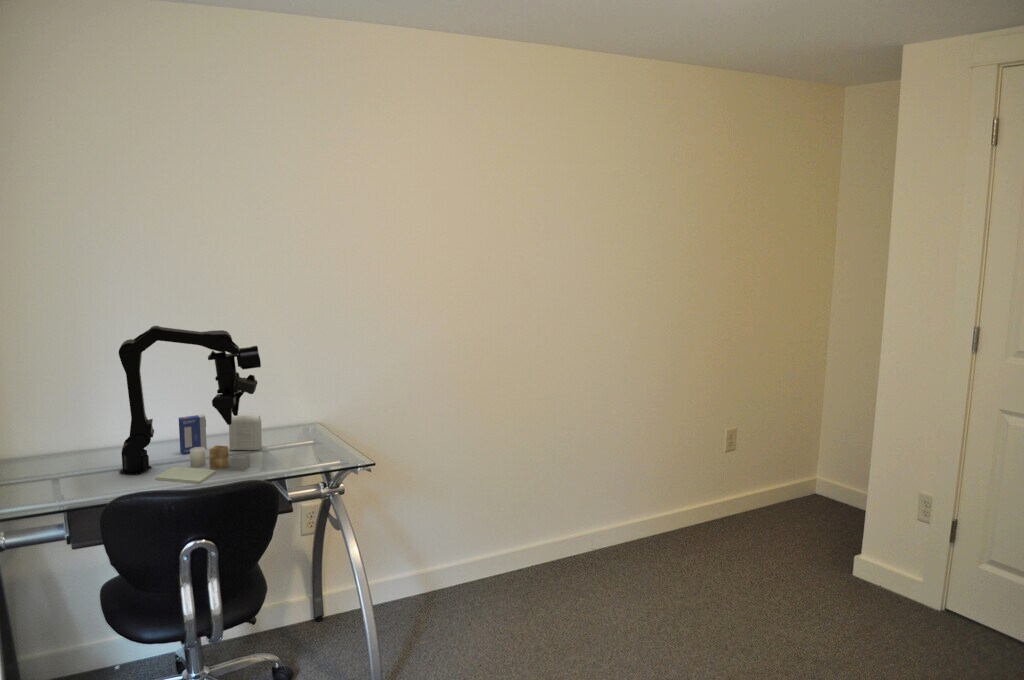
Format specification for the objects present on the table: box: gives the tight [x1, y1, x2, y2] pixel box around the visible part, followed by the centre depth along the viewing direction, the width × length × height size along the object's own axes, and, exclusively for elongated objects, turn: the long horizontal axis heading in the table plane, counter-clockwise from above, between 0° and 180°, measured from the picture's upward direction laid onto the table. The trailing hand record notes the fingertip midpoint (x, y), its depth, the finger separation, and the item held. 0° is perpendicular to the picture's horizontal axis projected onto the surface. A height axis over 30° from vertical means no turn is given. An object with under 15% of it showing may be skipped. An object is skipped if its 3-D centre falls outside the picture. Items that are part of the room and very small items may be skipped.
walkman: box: [178, 414, 208, 455], centre depth 244 cm, size 8×3×12 cm, turn 125°
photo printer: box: [228, 412, 263, 451], centre depth 248 cm, size 10×4×12 cm, turn 98°
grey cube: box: [230, 453, 251, 472], centre depth 231 cm, size 4×4×4 cm
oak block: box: [208, 445, 230, 470], centre depth 232 cm, size 4×4×6 cm
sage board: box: [154, 466, 217, 484], centre depth 223 cm, size 14×9×1 cm, turn 82°
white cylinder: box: [189, 447, 207, 468], centre depth 233 cm, size 4×4×5 cm
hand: (232, 420), depth 235 cm, fingers open, 9 cm apart
